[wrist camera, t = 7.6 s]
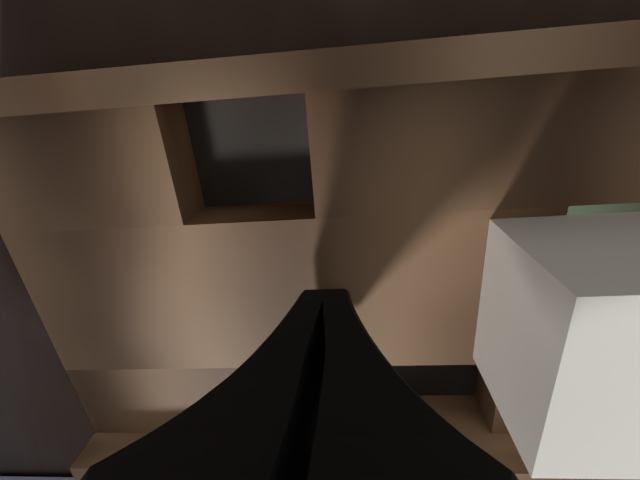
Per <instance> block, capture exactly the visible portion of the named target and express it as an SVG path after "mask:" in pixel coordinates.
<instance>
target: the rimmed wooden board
mask: <svg viewBox="0 0 640 480" xmlns="http://www.w3.org/2000/svg"><path fill="white" fill-rule="evenodd" d="M639 211H640V19H639V20H628V21H617V22H606V23H595V24H584V25H573V26H562V27H551V28H540V29H529V30H518V31H507V32H496V33H485V34H474V35H463V36H452V37H441V38H430V39H419V40H408V41H397V42H386V43H375V44H364V45H353V46H342V47H331V48H320V49H309V50H298V51H287V52H276V53H265V54H254V55H243V56H232V57H221V58H210V59H199V60H188V61H177V62H166V63H155V64H144V65H133V66H122V67H111V68H100V69H89V70H78V71H67V72H56V73H45V74H34V75H23V76H12V77H1V78H0V235H1V237H2V239H3V241H4V243H5V245H6V247H7V249H8V251H9V253H10V256H11V258H12V260H13V262H14V264H15V266H16V268H17V270H18V272H19V274H20V277H21V279H22V281H23V283H24V285H25V287H26V289H27V291H28V293H29V295H30V298H31V300H32V302H33V304H34V306H35V308H36V310H37V312H38V314H39V316H40V319H41V321H42V323H43V325H44V327H45V329H46V331H47V333H48V335H49V337H50V340H51V342H52V344H53V346H54V348H55V350H56V352H57V354H58V356H59V358H60V361H61V363H62V365H63V367H64V369H65V371H66V373H67V375H68V377H69V379H70V382H71V384H72V386H73V388H74V390H75V392H76V394H77V396H78V398H79V400H80V403H81V405H82V407H83V409H84V411H85V413H86V415H87V417H88V419H89V421H90V424H91V426H92V428H93V430H94V432H95V433H94V434H93V436H92V437H91V439H90V440H89V441H88V443H87V444H86V446H85V447H84V448H83V450H82V451H81V453H80V454H79V455H78V457H77V458H76V459H75V461H74V462H73V464H72V465H71V466H70V468H69V469H70V471H71V473H72V475H73V477H74V479H75V480H80V479H81V478H82V477H83V475H84V474H85V473H86V471H87V470H88V468H89V467H90V466H92V465H93V464H95V463H97V462H99V461H101V460H103V459H105V458H106V457H108V456H110V455H112V454H113V453H115V452H117V451H119V450H120V449H122V448H124V447H126V446H127V445H129V444H131V443H133V442H135V441H136V440H138V439H140V438H142V437H143V436H145V435H147V434H148V433H150V432H152V431H153V430H155V429H156V428H158V427H160V426H161V425H163V424H164V423H166V422H167V421H169V420H170V419H172V418H173V417H175V416H177V415H178V414H179V413H181V412H182V411H184V410H185V409H187V408H188V407H190V406H191V405H192V404H194V403H195V402H197V401H198V400H199V399H201V398H202V397H203V396H204V395H206V394H207V393H208V392H210V391H211V390H212V389H213V388H215V387H216V386H217V385H219V384H220V383H221V382H222V381H224V380H225V379H226V378H227V377H229V376H230V375H231V374H232V373H233V372H234V371H235V370H236V369H237V368H239V367H240V366H241V365H242V364H243V363H244V362H245V361H246V360H247V359H248V358H249V357H250V356H251V355H252V354H253V353H254V352H255V351H256V350H257V349H258V348H259V346H260V345H261V344H262V343H263V342H264V341H265V340H266V339H267V338H268V336H269V335H270V334H271V333H272V332H273V331H274V330H275V328H276V327H277V326H278V324H279V323H280V322H281V321H282V319H283V318H284V317H285V316H286V314H287V313H288V312H289V310H290V309H291V307H292V306H293V305H294V303H295V302H296V300H297V299H298V297H299V296H300V294H301V293H302V292H303V291H304V290H312V289H346V290H348V291H349V294H350V298H351V301H352V303H353V306H354V308H355V310H356V312H357V314H358V316H359V318H360V320H361V322H362V323H363V325H364V327H365V328H366V330H367V332H368V333H369V335H370V337H371V338H372V340H373V341H374V342H375V344H376V345H377V347H378V348H379V350H380V351H381V352H382V354H383V355H384V356H385V358H386V359H387V360H388V361H389V363H390V364H391V365H392V366H393V368H394V369H395V370H396V371H397V372H398V373H399V375H400V376H401V377H402V378H403V379H404V380H405V381H406V382H407V383H408V384H409V386H410V387H411V388H412V389H413V390H414V391H415V392H416V393H417V394H418V395H419V396H420V397H421V398H423V399H424V400H425V401H426V402H427V403H428V404H429V405H430V406H431V407H432V408H433V409H434V410H435V411H436V412H437V413H438V414H439V415H441V416H442V417H443V418H444V419H445V420H446V421H447V422H448V423H450V424H451V425H452V426H453V427H454V428H456V429H457V430H458V431H459V432H460V433H462V434H463V435H464V436H465V437H466V438H468V439H469V440H470V441H472V442H473V443H475V444H476V445H477V446H479V447H480V448H481V449H483V450H484V451H486V452H487V453H488V454H490V455H491V456H492V457H494V458H495V459H496V460H498V461H499V462H501V463H502V464H503V465H505V466H506V467H507V468H509V469H510V470H512V471H513V472H514V473H515V475H516V476H517V478H518V480H640V479H550V478H531V477H530V475H529V473H528V471H527V468H526V466H525V464H524V462H523V460H522V458H521V456H520V454H519V452H518V450H517V448H516V446H515V444H514V442H513V440H512V437H511V435H510V433H509V431H508V429H507V427H506V425H505V423H504V421H503V419H502V417H501V415H500V413H499V411H498V409H497V406H496V404H495V402H494V400H493V398H492V396H491V394H490V392H489V390H488V388H487V386H486V384H485V382H484V380H483V377H482V375H481V373H480V371H479V369H478V367H477V365H476V363H475V361H474V359H473V351H474V343H475V335H476V327H477V318H478V310H479V302H480V294H481V286H482V278H483V269H484V261H485V253H486V245H487V237H488V229H489V220H490V219H504V218H523V217H542V216H562V215H581V214H600V213H620V212H639Z"/></svg>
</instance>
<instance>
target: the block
mask: <svg viewBox="0 0 640 480" xmlns="http://www.w3.org/2000/svg"><path fill="white" fill-rule="evenodd" d="M473 359H474V361H475V363H476V365H477V367H478V369H479V371H480V373H481V375H482V377H483V380H484V382H485V384H486V386H487V388H488V390H489V392H490V394H491V396H492V398H493V400H494V402H495V404H496V406H497V409H498V411H499V413H500V415H501V417H502V419H503V421H504V423H505V425H506V427H507V429H508V431H509V433H510V435H511V437H512V440H513V442H514V444H515V446H516V448H517V450H518V452H519V454H520V456H521V458H522V460H523V462H524V464H525V466H526V468H527V471H528V473H529V475H530V477H531V478H550V479H640V211H639V212H620V213H600V214H581V215H562V216H542V217H523V218H504V219H490V220H489V229H488V237H487V245H486V253H485V261H484V269H483V278H482V286H481V294H480V302H479V310H478V318H477V327H476V335H475V343H474V351H473Z"/></svg>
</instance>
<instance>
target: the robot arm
mask: <svg viewBox="0 0 640 480" xmlns="http://www.w3.org/2000/svg"><path fill="white" fill-rule="evenodd" d="M0 480H75V479H74V477H23V476H0ZM80 480H518V478H517V476H516V475H515V473H514V472H513V471H512V470H510V469H509V468H507V467H506V466H505V465H503V464H502V463H501V462H499V461H498V460H496V459H495V458H494V457H492V456H491V455H490V454H488V453H487V452H486V451H484V450H483V449H481V448H480V447H479V446H477V445H476V444H475V443H473V442H472V441H470V440H469V439H468V438H466V437H465V436H464V435H463V434H462V433H460V432H459V431H458V430H457V429H456V428H454V427H453V426H452V425H451V424H450V423H448V422H447V421H446V420H445V419H444V418H443V417H442V416H441V415H439V414H438V413H437V412H436V411H435V410H434V409H433V408H432V407H431V406H430V405H429V404H428V403H427V402H426V401H425V400H424V399H423V398H421V397H420V396H419V395H418V394H417V393H416V392H415V391H414V390H413V389H412V388H411V387H410V386H409V384H408V383H407V382H406V381H405V380H404V379H403V378H402V377H401V376H400V375H399V373H398V372H397V371H396V370H395V369H394V368H393V366H392V365H391V364H390V363H389V361H388V360H387V359H386V358H385V356H384V355H383V354H382V352H381V351H380V350H379V348H378V347H377V345H376V344H375V342H374V341H373V340H372V338H371V337H370V335H369V333H368V332H367V330H366V328H365V327H364V325H363V323H362V322H361V320H360V318H359V316H358V314H357V312H356V310H355V308H354V306H353V303H352V301H351V298H350V294H349V291H348V290H346V289H312V290H304V291H303V292H302V293H301V294H300V296H299V297H298V299H297V300H296V302H295V303H294V305H293V306H292V307H291V309H290V310H289V312H288V313H287V314H286V316H285V317H284V318H283V319H282V321H281V322H280V323H279V324H278V326H277V327H276V328H275V330H274V331H273V332H272V333H271V334H270V335H269V336H268V338H267V339H266V340H265V341H264V342H263V343H262V344H261V345H260V346H259V348H258V349H257V350H256V351H255V352H254V353H253V354H252V355H251V356H250V357H249V358H248V359H247V360H246V361H245V362H244V363H243V364H242V365H241V366H240V367H239V368H237V369H236V370H235V371H234V372H233V373H232V374H231V375H230V376H229V377H227V378H226V379H225V380H224V381H222V382H221V383H220V384H219V385H217V386H216V387H215V388H213V389H212V390H211V391H210V392H208V393H207V394H206V395H204V396H203V397H202V398H201V399H199V400H198V401H197V402H195V403H194V404H192V405H191V406H190V407H188V408H187V409H185V410H184V411H182V412H181V413H179V414H178V415H177V416H175V417H173V418H172V419H170V420H169V421H167V422H166V423H164V424H163V425H161V426H160V427H158V428H156V429H155V430H153V431H152V432H150V433H148V434H147V435H145V436H143V437H142V438H140V439H138V440H136V441H135V442H133V443H131V444H129V445H127V446H126V447H124V448H122V449H120V450H119V451H117V452H115V453H113V454H112V455H110V456H108V457H106V458H105V459H103V460H101V461H99V462H97V463H95V464H93V465H92V466H90V467H89V468H88V470H87V471H86V473H85V474H84V475H83V477H82V478H81V479H80Z"/></svg>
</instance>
